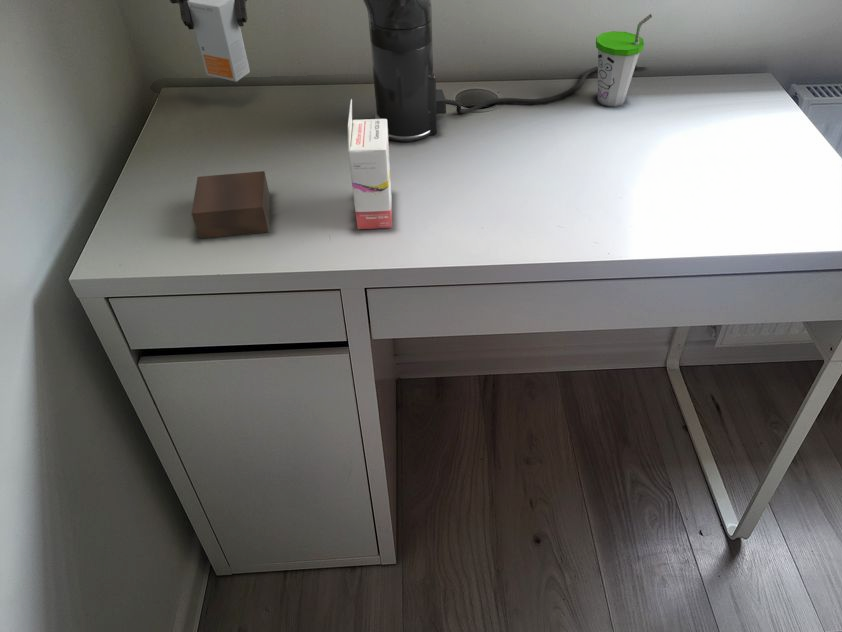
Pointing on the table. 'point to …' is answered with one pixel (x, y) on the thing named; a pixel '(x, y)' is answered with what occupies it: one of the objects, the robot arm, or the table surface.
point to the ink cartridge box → (370, 171)
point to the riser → (231, 204)
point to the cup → (617, 63)
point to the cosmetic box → (219, 38)
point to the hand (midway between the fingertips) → (215, 25)
